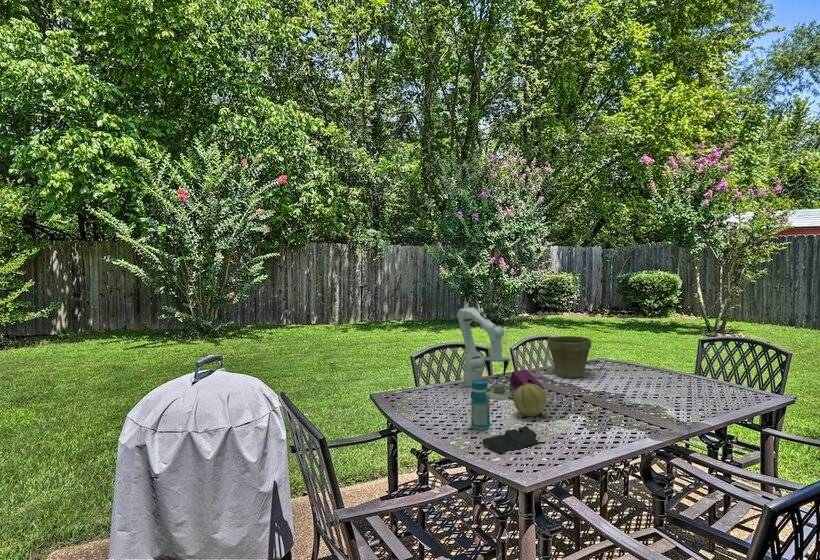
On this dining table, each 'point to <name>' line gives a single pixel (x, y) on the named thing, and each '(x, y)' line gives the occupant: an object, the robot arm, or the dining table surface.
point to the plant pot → (569, 355)
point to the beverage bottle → (480, 405)
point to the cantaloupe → (530, 399)
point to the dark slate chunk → (512, 440)
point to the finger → (499, 388)
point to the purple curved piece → (522, 379)
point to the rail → (497, 394)
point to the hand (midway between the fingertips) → (496, 374)
